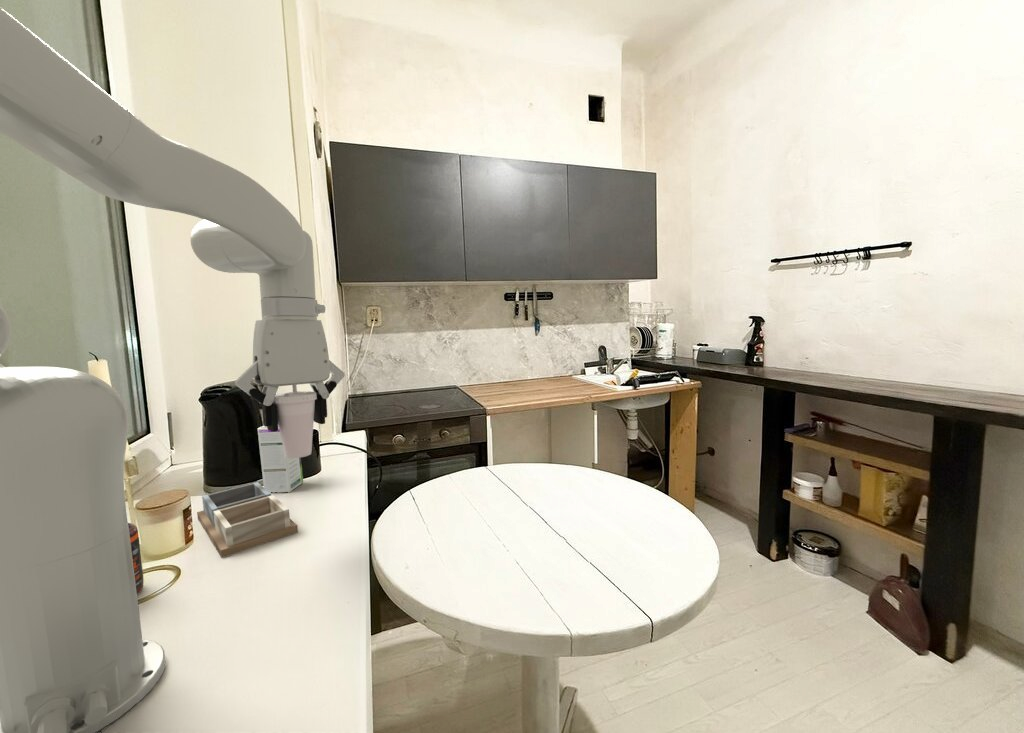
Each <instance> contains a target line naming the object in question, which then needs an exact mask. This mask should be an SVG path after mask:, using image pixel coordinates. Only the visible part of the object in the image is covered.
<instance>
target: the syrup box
mask: <svg viewBox="0 0 1024 733" xmlns="http://www.w3.org/2000/svg"><path fill="white" fill-rule="evenodd" d="M257 436H258V446H259V447H258V448H259V455H260V465H261V472H262V484H263V485H262V486H263V487H264V488H265V489H266V490H267V491H268V492H288V493H291V492H292V491H294V489H296V488H297V487H299V486H300V485H302V484H303V483H304V475H303V467H302V457H300V458H286V457H285V453H284V449H283V444H282V439H281V435H280V430H279V425H278V430H277V431H276V432H272V431H270V430H268V429H267V426H266V427H265V426H264V425H262V426H260V427H258V428H257Z"/></svg>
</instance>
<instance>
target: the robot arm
mask: <svg viewBox="0 0 1024 733" xmlns="http://www.w3.org/2000/svg"><path fill="white" fill-rule="evenodd" d="M0 134H1V135H3V136H5V137H6V138H8V139H10V140H11V141H13V142H15V143H16V144H18V145H20V146H22V147H23V148H25V149H27V150H28V151H30V152H32V153H33V154H35V155H37V156H38V157H39V158H42V159H44V161H46V162H48V163H50V164H51V165H53V166H54V167H56V168H58V169H60V170H61V171H63V172H64V173H66V174H67V175H69V176H70V177H73V178H74V179H75V180H77V181H79V182H81V183H82V184H84V185H86V186H87V187H89V188H90V189H92V190H93V191H95V192H97V193H98V194H101V195H103V196H105V197H107V198H110V199H113V200H116V201H121V202H124V203H128V204H132V205H136V206H141V207H145V208H150V209H151V208H152V209H156V210H163V211H170V212H173V213H174V212H175V213H179V214H184V215H187V216H188V215H189V216H192V217H195V218H198V219H201V221H199V222H198V223H197V224H196V225H195V226H194V228H192V231H191V233H190V245H191V249H192V251H193V253H194V254H195V256H196V258H198V260H200V262H202V263H203V264H204V265H205V266H207V267H209V268H211V269H213V270H216V271H219V272H222V273H228V274H235V273H237V274H241V273H242V274H248V273H249V274H257V275H258V276H259V291H260V307H261V308H260V309H261V320H260V319H258V320H255V323H254V329H253V330H254V331H253V341H252V363H251V365H250V366H249V367H248V368H247V369H246V370H245V371H244V372H243V373H242V374H240V376H238V378H236V380H235V381H234V385H235V386H236V387H238V388H239V389H240V390H242V391H243V392H244V393H246V394H247V395H248V396H250V398H252V399H254V400H255V401H257V402H258V403H259V404H260V405H261V410H262V423H263V426H265V427H266V426H267V429H268V430H270V431H272V432H276V431H277V430H278V414H277V406H276V405H274V401H273V400H274V398H275V395H276V394H277V393H278V390H279V387H286V386H292V385H296V386H297V385H306V384H309V386H310V388H311V389H312V392H316V395H317V399H315V407H314V421H313V423H314V422H315V423H316V424H319V425H324V424H326V419H327V417H328V404H327V403H328V402H327V399H329V397H330V394H331V393H332V392H333V391H334V390H335V389H336V388H337V385H338V384H340V382H341V381H342V380H343V379H344V377H345V376H346V373H345V372H344V371H343V370H341V368H339V367H338V366H337V365H336V364H334V362H332V361H331V360H330V357H329V348H328V342H327V338H326V334H325V329H324V326H323V323H322V320H319V319H318V317H319V314H324V313H326V306H325V304H320V303H318V299H316V282H315V281H316V280H315V265H314V264H315V261H314V245H313V240H312V237H311V235H310V234H309V233H308V232H307V231H306V230H303V228H302V226H301V224H300V222H299V221H298V220H297V219H296V217H295V216H294V214H292V213H291V212H290V209H288V207H286V206H285V205H283V203H281V202H280V201H279V200H278V199H277V198H276V197H275V196H273V194H272V193H270V192H269V191H268V190H267V189H265V187H264V186H263V185H261V184H260V183H259V182H257V181H256V180H254V179H253V178H251V177H249V175H247V174H245V173H243V172H242V171H239V170H238V169H236V168H233V167H232V166H230V165H228V164H226V163H223V162H222V161H219V160H218V159H215V158H213V157H212V156H211V157H210V156H208V155H206V154H204V153H202V152H201V151H197V150H196V149H193V148H192V147H190V146H187V145H185V144H181V143H180V142H177V141H174V140H172V139H169V138H167V137H165V136H163V135H162V134H160V133H158V132H156V131H155V130H154V129H152V128H151V127H150V126H148V125H147V124H145V123H144V121H142V120H141V119H140V118H138V117H137V116H136V115H135V114H133V113H132V112H131V111H130V110H129V109H128V108H126V107H125V106H123V105H122V104H121V103H120V102H119V101H118V100H116V99H115V98H114V97H113V96H111V95H110V94H109V93H107V92H106V91H105V90H104V89H102V87H100V86H99V85H98V84H96V83H95V81H93V80H92V79H91V78H89V77H88V76H86V75H85V74H84V73H83V72H82V71H80V70H79V69H78V68H77V67H76V66H75V65H73V64H72V63H70V61H68V59H66V58H65V57H63V56H62V55H61V54H59V53H58V51H56V50H55V49H53V47H51V46H50V45H49V44H47V43H46V42H45V41H43V40H42V38H40V37H38V36H37V35H36V34H35V33H33V32H32V31H31V30H30V29H29V28H27V27H26V26H24V25H23V24H22V23H21V22H19V20H18V19H16V18H15V17H13V15H11V14H10V13H9V12H7V11H5V10H4V9H3V8H2V7H0ZM12 333H13V332H12V325H11V321H10V318H9V316H8V314H7V312H6V310H5V308H4V307H3V305H2V304H0V357H2V356H3V354H4V353H5V352H6V351H7V349H8V347H9V344H10V341H11V339H12ZM330 374H331V376H330ZM328 379H329V380H328ZM252 381H254V382H255V383H257V384H259V385H263V387H262V389H261V390H259V389H258V388H256V387H255V386H254V385H252V384H251V383H252ZM325 381H326V382H325ZM128 417H129V416H128V410H127V407H126V405H125V403H124V401H123V399H122V397H121V396H120V394H119V393H118V392H117V391H116V389H115V388H114V387H112V386H111V385H110V384H108V382H106V381H104V380H103V379H100V378H99V377H97V376H95V375H93V374H90V373H88V372H85V371H80V370H76V369H73V368H67V367H57V366H5V365H3V364H2V363H1V362H0V733H97V732H99V731H100V730H102V729H103V728H105V727H107V726H108V725H110V724H112V723H113V722H115V721H116V720H117V719H119V718H120V717H121V716H123V715H124V714H126V713H127V712H128V711H130V710H131V709H132V708H134V706H136V705H137V704H138V703H139V702H140V701H141V700H142V699H144V697H145V696H146V695H147V694H148V693H149V692H150V691H151V690H152V689H153V688H154V687H155V685H156V683H157V682H158V681H159V680H160V678H161V677H162V674H163V672H164V670H165V666H166V655H165V650H164V648H163V647H162V645H161V644H160V643H158V642H156V641H153V640H149V639H143V632H142V625H141V617H140V608H139V600H138V594H137V591H136V583H135V575H134V567H133V559H132V551H131V542H130V534H129V526H128V523H129V522H128V517H127V516H128V513H127V505H126V497H125V479H124V478H125V476H124V475H125V471H124V470H125V457H126V450H127V443H128V435H129V418H128Z"/></svg>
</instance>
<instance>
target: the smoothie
mask: <svg viewBox="0 0 1024 733" xmlns="http://www.w3.org/2000/svg"><path fill="white" fill-rule="evenodd" d="M291 386H292V391H289V392H282V393H276V395H275V398H274V400H273V401H274V405H276V406H277V414H278V425H279V430H280V435H281V439H282V444H283V449H284V453H285V457H286V458H300V457H301V458H305V457H308V456H310V455H312V449H313V433H314V407H315V399H317V395H316V392H314V391H310V390H309V391H308V390H307V391H298V388H297V385H291Z"/></svg>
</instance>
